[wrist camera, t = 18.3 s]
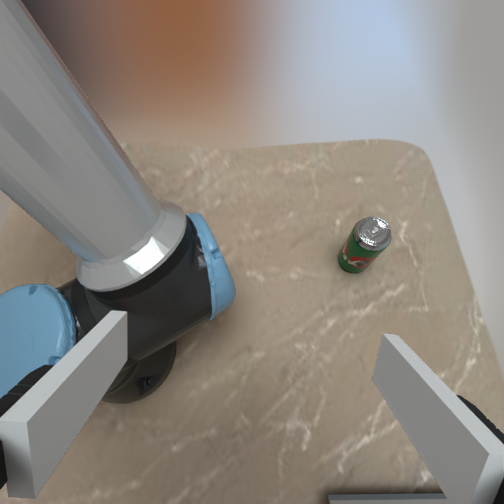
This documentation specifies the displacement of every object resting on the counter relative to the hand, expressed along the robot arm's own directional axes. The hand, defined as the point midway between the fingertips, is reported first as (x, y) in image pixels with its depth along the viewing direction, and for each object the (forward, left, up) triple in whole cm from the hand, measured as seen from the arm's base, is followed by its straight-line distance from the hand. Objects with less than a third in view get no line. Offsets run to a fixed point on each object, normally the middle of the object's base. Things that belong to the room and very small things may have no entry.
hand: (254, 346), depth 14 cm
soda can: (+15, +14, -32) cm, 38 cm away
